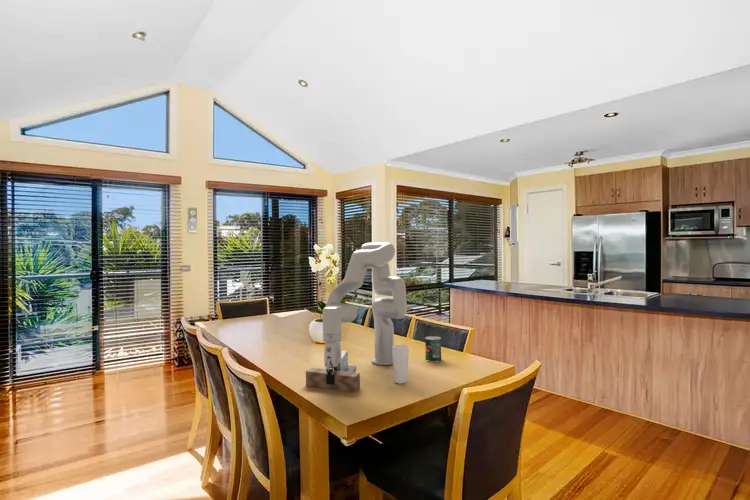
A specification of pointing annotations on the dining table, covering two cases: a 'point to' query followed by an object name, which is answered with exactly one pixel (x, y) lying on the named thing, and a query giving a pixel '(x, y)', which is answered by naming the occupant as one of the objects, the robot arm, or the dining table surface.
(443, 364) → the dining table surface
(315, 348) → the dining table surface
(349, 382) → the brown wooden block
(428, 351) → the canned tomato
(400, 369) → the drinking glass
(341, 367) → the ridge stand
